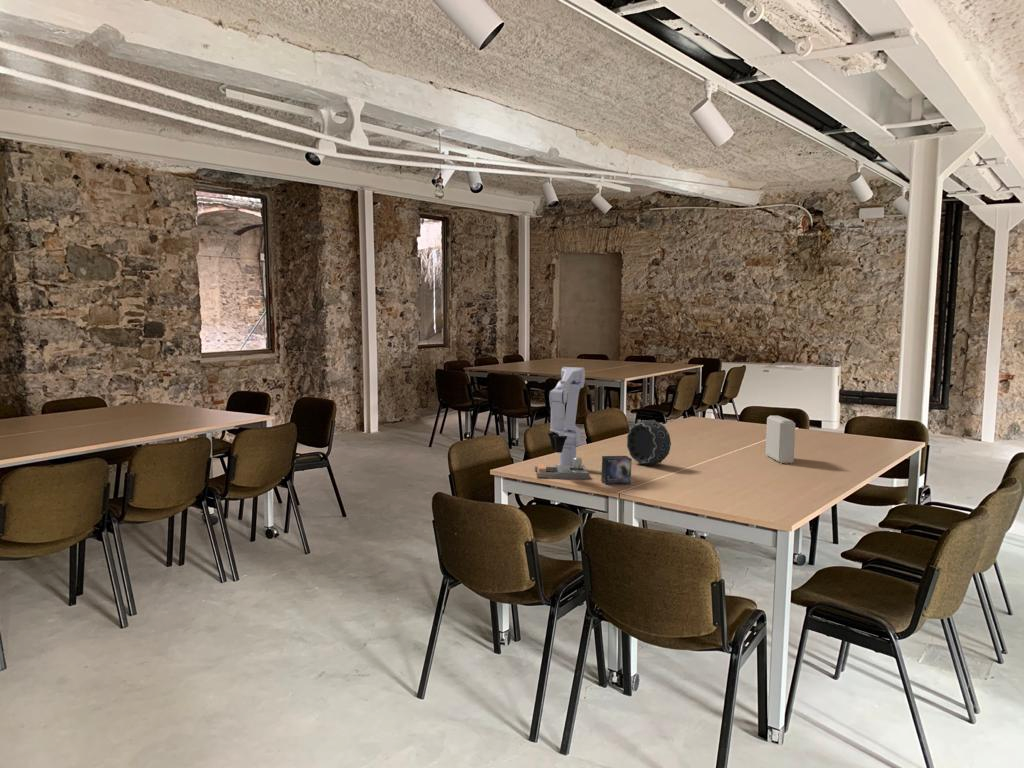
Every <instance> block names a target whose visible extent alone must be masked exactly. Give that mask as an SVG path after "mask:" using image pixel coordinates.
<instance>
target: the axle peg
mask: <svg viewBox="0 0 1024 768" xmlns="http://www.w3.org/2000/svg"><path fill="white" fill-rule="evenodd" d="M582 462H583V458H582V457H576V458H573V470H582Z"/></svg>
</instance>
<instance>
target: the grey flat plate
mask: <svg viewBox="0 0 1024 768" xmlns="http://www.w3.org/2000/svg"><path fill="white" fill-rule="evenodd" d="M535 471H537V466H534V472H535ZM546 471H548V472H546V473H538V472H536V475H535V476H536V478H537V477H552V478H551V479H559V478H560V480H589V475H590V472H589V471H588V469H587V468H586V466H585V465H584V464H583V465H582V470H573V465H558V464H556V465H555V466H546ZM549 471H550V472H549Z"/></svg>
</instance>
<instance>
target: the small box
mask: <svg viewBox="0 0 1024 768" xmlns="http://www.w3.org/2000/svg"><path fill="white" fill-rule="evenodd" d="M601 458H602V459H601V478H600V482H601V481H602V482H601V483H603V484H604V483H605V484H604V485H606V484H618V485H631V484H632V481H631V480H632V461H633V458H632V457H630V456H628V455H602V456H601Z"/></svg>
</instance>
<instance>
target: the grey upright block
mask: <svg viewBox="0 0 1024 768" xmlns="http://www.w3.org/2000/svg"><path fill="white" fill-rule="evenodd" d="M795 439H796V422H794V420H792V419H789V418H786V417H783V416H781V415H769V416H768V417H766V435H765V455H766V456H767V455H768V456H769V457H768V456H767V457H768V458H770V457H771V458H770V459H772V458H773V459H772V460H774V459H775V460H776V462H777V461H778V462H777V463H779V462H780V463H779V464H781V463H791V464H793V463H794V462H795V443H796V440H795ZM775 460H774V461H775Z"/></svg>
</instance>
